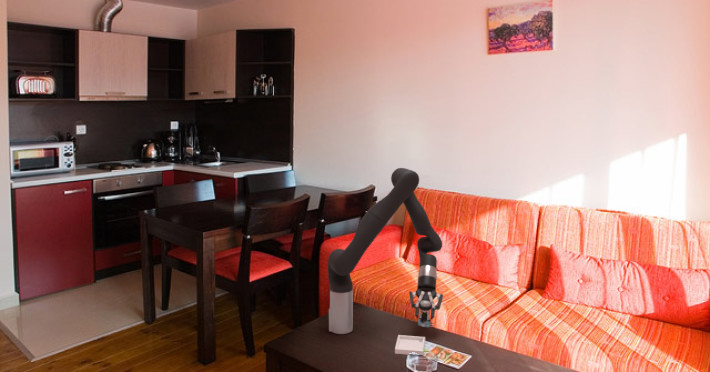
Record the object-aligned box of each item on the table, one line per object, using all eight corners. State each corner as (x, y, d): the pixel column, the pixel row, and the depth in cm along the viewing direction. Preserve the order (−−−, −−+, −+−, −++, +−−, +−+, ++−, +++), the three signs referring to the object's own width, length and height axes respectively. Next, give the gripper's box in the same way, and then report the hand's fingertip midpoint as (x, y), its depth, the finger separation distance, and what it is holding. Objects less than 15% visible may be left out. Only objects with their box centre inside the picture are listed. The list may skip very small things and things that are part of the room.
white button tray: (394, 353, 199) (394, 349, 199) (398, 339, 211) (398, 334, 211) (423, 355, 197) (423, 351, 197) (425, 341, 209) (425, 337, 209)
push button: (435, 324, 215) (436, 301, 213) (432, 330, 210) (434, 306, 208) (418, 321, 217) (420, 298, 215) (415, 327, 212) (417, 303, 210)
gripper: (409, 273, 219) (405, 312, 209) (445, 275, 217) (443, 315, 207) (409, 281, 225) (406, 320, 215) (444, 284, 223) (442, 323, 213)
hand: (424, 317), depth 211 cm, fingers closed on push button, 5 cm apart
